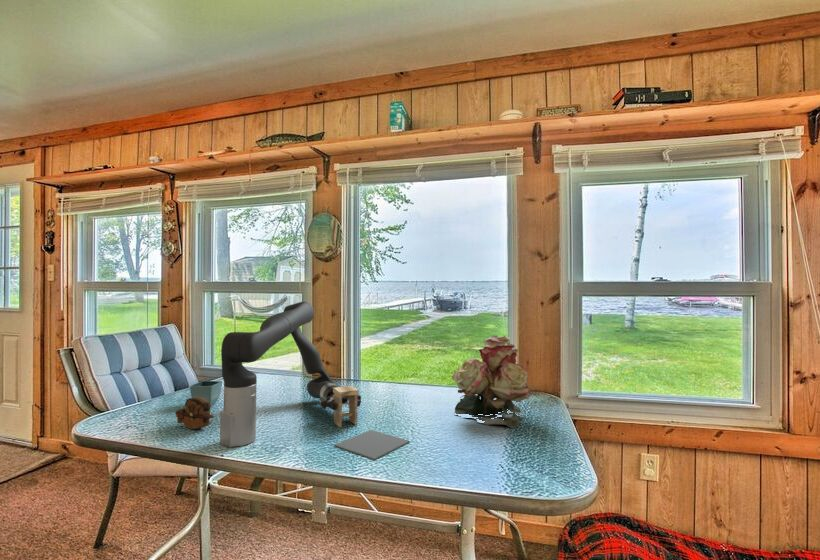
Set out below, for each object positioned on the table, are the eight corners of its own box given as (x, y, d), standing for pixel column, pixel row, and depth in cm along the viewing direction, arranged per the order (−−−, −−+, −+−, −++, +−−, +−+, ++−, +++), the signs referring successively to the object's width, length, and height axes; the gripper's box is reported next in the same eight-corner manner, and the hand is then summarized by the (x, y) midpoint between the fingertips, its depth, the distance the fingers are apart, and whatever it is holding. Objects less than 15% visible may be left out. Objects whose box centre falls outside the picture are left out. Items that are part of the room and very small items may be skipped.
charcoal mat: (374, 460, 106) (374, 458, 106) (334, 446, 115) (334, 444, 115) (409, 442, 118) (409, 440, 118) (370, 430, 128) (370, 429, 128)
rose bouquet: (444, 418, 142) (444, 335, 143) (486, 401, 163) (486, 330, 164) (508, 435, 125) (507, 341, 126) (545, 414, 146) (545, 334, 147)
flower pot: (211, 409, 151) (211, 386, 152) (188, 408, 151) (189, 385, 152) (222, 402, 160) (222, 380, 160) (201, 402, 160) (201, 380, 161)
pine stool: (339, 428, 130) (339, 392, 131) (332, 422, 137) (333, 387, 137) (358, 425, 134) (358, 390, 134) (350, 419, 140) (351, 385, 140)
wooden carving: (169, 427, 131) (170, 397, 131) (182, 423, 135) (182, 394, 135) (206, 433, 125) (207, 402, 125) (218, 429, 129) (219, 398, 130)
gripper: (314, 387, 145) (327, 397, 131) (350, 382, 152) (366, 392, 138) (313, 407, 144) (327, 419, 130) (349, 402, 151) (366, 413, 137)
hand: (347, 405), depth 134 cm, fingers open, 8 cm apart
